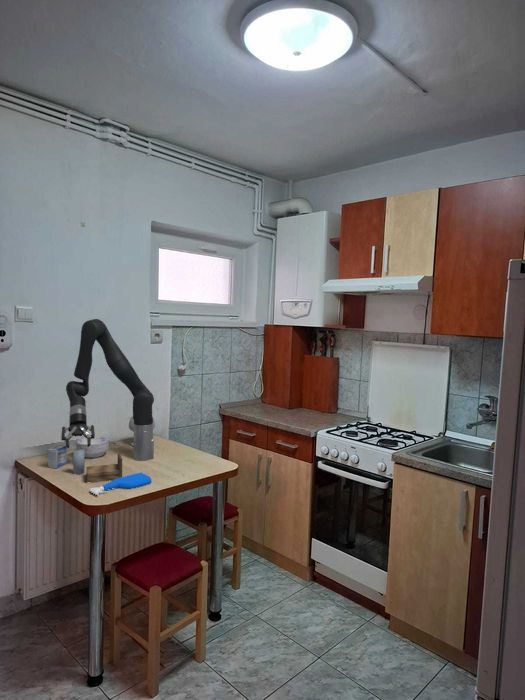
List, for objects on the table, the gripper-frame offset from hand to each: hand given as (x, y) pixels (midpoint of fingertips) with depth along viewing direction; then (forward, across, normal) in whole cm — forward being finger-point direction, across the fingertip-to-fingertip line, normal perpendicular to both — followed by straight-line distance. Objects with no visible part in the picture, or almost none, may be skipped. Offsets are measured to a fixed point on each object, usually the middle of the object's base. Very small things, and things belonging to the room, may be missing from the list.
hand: (78, 446), depth 215 cm
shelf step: (+18, +10, -4) cm, 21 cm away
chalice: (-17, +33, +32) cm, 49 cm away
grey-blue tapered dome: (+11, 0, +4) cm, 12 cm away
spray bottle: (+28, +16, -13) cm, 35 cm away
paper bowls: (-7, +7, +22) cm, 24 cm away
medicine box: (+2, -9, +14) cm, 16 cm away
